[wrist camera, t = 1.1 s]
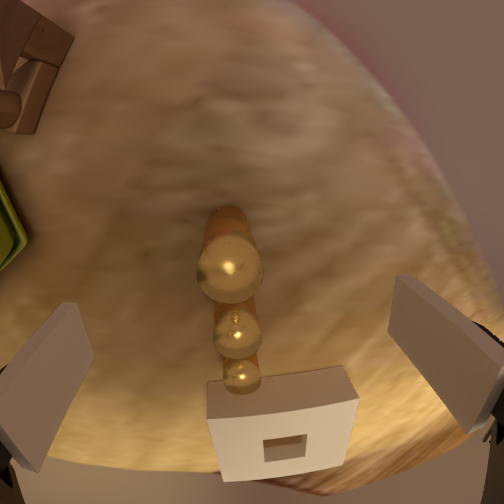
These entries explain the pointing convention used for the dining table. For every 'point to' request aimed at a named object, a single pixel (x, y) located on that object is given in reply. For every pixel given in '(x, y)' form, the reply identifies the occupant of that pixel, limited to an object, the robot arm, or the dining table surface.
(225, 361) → the pin short
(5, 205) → the flower pot
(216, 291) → the pin long
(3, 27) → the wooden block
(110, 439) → the dining table surface
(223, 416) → the white block with hole
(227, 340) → the pin medium
